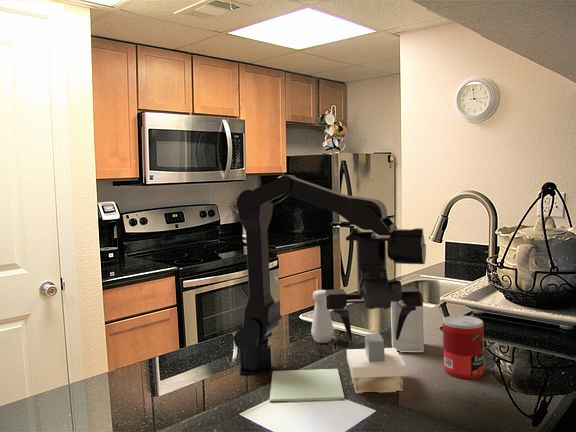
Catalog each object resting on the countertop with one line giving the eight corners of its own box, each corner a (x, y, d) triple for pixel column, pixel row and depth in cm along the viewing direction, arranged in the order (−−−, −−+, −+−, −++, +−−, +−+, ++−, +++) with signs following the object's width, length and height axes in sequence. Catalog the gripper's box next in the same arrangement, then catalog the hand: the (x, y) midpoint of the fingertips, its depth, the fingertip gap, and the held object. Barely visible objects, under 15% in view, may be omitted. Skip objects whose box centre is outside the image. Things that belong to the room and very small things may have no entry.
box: (356, 393, 94) (355, 370, 94) (350, 375, 103) (349, 354, 103) (403, 391, 94) (402, 368, 94) (393, 373, 103) (392, 352, 103)
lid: (352, 377, 93) (351, 346, 93) (346, 358, 104) (345, 330, 103) (406, 375, 93) (405, 344, 93) (395, 357, 103) (394, 329, 103)
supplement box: (424, 353, 114) (423, 300, 113) (392, 352, 116) (390, 299, 115) (422, 343, 121) (421, 292, 120) (391, 342, 123) (390, 292, 122)
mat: (269, 402, 92) (269, 399, 92) (272, 373, 106) (272, 371, 106) (344, 399, 92) (344, 396, 92) (337, 371, 106) (337, 368, 106)
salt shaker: (308, 342, 125) (306, 292, 124) (315, 336, 130) (313, 287, 130) (330, 344, 123) (328, 293, 122) (336, 337, 128) (335, 288, 127)
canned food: (480, 382, 97) (479, 327, 96) (439, 375, 101) (438, 322, 100) (487, 368, 103) (486, 317, 103) (448, 362, 108) (447, 313, 107)
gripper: (327, 271, 89) (329, 356, 90) (430, 268, 89) (431, 352, 90) (323, 262, 100) (325, 337, 101) (415, 258, 100) (416, 333, 101)
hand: (373, 340), depth 98 cm, fingers open, 9 cm apart
